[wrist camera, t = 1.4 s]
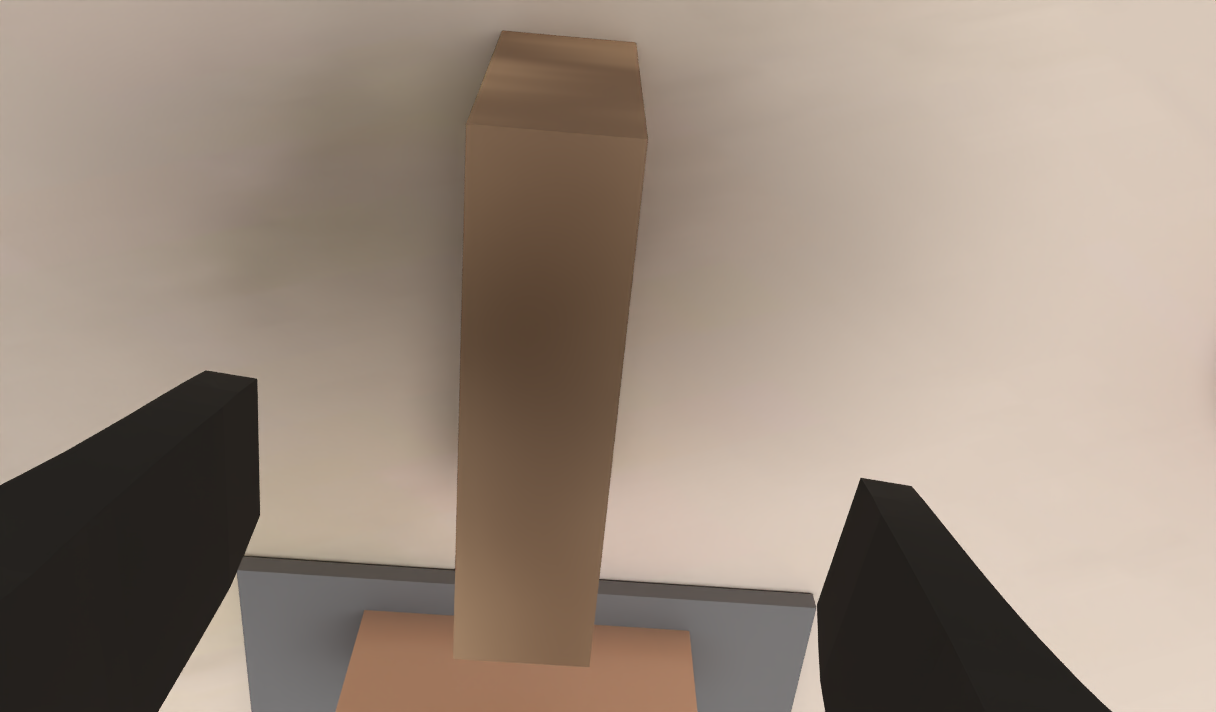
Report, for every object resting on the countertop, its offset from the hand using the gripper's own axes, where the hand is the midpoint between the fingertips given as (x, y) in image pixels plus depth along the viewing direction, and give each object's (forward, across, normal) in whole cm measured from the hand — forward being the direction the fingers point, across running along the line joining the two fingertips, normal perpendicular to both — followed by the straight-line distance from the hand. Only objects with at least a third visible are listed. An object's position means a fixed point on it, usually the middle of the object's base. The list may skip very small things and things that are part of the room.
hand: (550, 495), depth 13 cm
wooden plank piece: (+10, +1, +2) cm, 10 cm away
